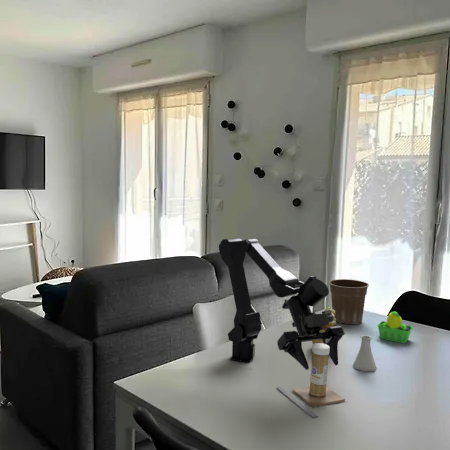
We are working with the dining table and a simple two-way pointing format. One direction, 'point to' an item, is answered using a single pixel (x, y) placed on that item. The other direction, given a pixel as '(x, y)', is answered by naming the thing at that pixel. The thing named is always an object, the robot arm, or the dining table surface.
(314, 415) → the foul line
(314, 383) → the sprinkles bottle
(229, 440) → the dining table surface
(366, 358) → the flask
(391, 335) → the fruit basket
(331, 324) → the decorative figurine
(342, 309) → the plant pot
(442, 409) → the dining table surface
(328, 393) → the board
